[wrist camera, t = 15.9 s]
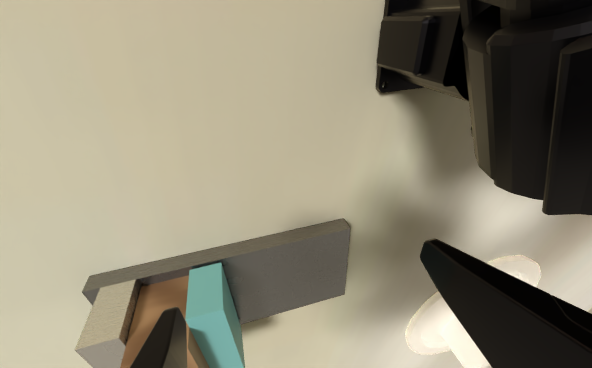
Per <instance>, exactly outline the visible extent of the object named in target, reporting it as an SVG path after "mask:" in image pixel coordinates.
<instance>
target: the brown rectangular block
mask: <svg viewBox="0 0 592 368" xmlns="http://www.w3.org/2000/svg"><path fill="white" fill-rule="evenodd" d="M188 282H189V275H188V276H184V277H180V278H175V279H171V280H167V281H163V282H159V283H155V284H151V285H147V286H142V287H141V289H140V293H139V297H138V301H137V305H136V309H135V312H134V316H133V320H132V324H131V328H130V332H129V336H128V339H127V343H126V347H125V351H124V355H123V359H122V362H121V366H120V368H130V366H131V364H132V363H133V361H134V359H135V357H136V356H137V354H138V352H139V351H140V349H141V347H142V346H143V344H144V342H145V341H146V339H147V337H148V335H149V334H150V332H151V330H152V329H153V327H154V325H155V324H156V322H157V320H158V318H159V317H160V315H161V313H162V312H163V311H164V310H165V309H168V308H172V307H178V308H179V309H180V311H181V313H182V315H183V317H184V319H185V317H186V306H187V294H188ZM185 321H186V320H185ZM186 329H187V368H210V367H209V365H208V363H207V361H206V360H205V358H204V356H203V354H202V352H201V350H200V348H199V346H198V344H197V342H196V340H195V338H194V336H193V334H192V332H191V330H190V328H189V326H188V324H187V322H186Z"/></svg>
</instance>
